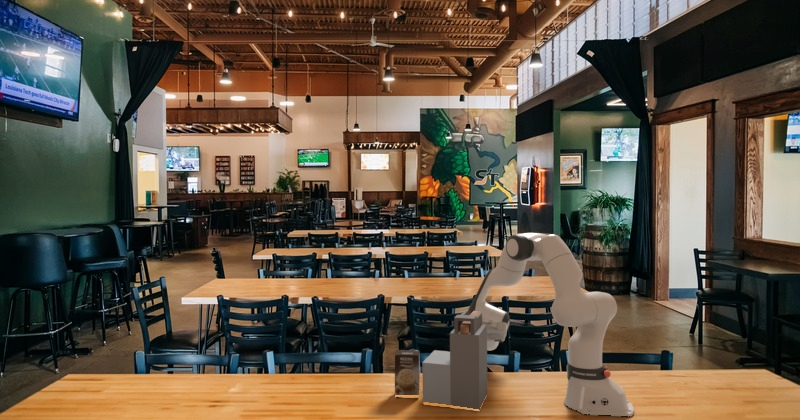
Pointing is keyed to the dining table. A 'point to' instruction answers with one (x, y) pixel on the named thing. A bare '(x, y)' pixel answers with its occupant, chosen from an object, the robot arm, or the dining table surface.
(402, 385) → the coffee box
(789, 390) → the dining table surface
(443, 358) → the stepped stand
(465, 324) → the bar
